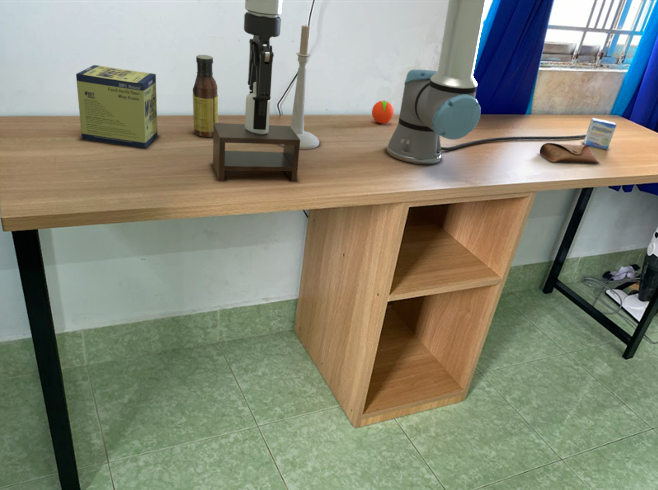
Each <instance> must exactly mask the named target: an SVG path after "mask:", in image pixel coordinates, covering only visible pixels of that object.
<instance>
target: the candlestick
mask: <svg viewBox="0 0 658 490" xmlns="http://www.w3.org/2000/svg"><path fill="white" fill-rule="evenodd" d="M310 28H311V27H310V26H309V25H301V30H300V42H299V52H296V55H297V62H298V67H297V75H296V83H295V90H294V97H293V98H294V100H293V105H292V114H291V120H290V121H291V122H290V125H289V126H290V127H291V128H292V129H293V131H294V132H295V134H296V135H297V136H298V138H299V139H300V148H299V150H310V149H315V148H317V147H318V146H319V145H320V140H319V138H318V137H317V136H316V135H315V134H313V133H311V132H309V131H306V130H305V129H304V127H305V101H306V100H305V98H306V78H307V77H306V76H307V75H306V74H307V73H306V72H307V68H306V66H307V63H308V62H309V57H310V56H311V54H310V53H308V51H309V38H310ZM278 146H281V147H284V144H278Z"/></svg>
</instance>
